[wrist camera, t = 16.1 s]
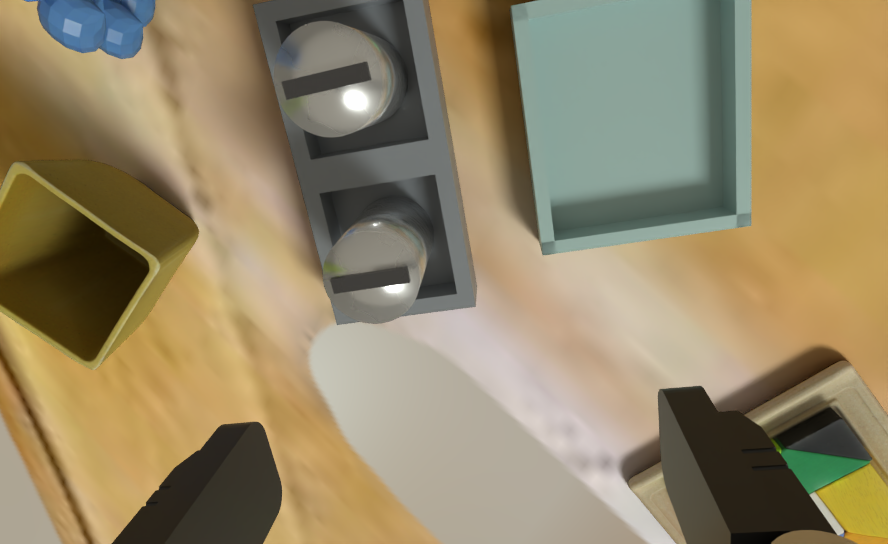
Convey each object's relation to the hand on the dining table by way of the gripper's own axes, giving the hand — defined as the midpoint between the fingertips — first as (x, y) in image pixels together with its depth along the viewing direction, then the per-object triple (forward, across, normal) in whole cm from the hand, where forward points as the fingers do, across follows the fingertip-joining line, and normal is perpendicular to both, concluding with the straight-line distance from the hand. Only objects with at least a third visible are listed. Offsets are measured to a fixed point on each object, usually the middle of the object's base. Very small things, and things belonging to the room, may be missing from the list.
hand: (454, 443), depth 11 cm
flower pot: (+26, +24, 0) cm, 35 cm away
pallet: (+26, +6, -3) cm, 27 cm away
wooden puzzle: (+28, -19, +27) cm, 43 cm away
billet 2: (+25, +6, +2) cm, 26 cm away
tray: (+27, -8, -3) cm, 28 cm away
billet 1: (+25, +6, -8) cm, 27 cm away
